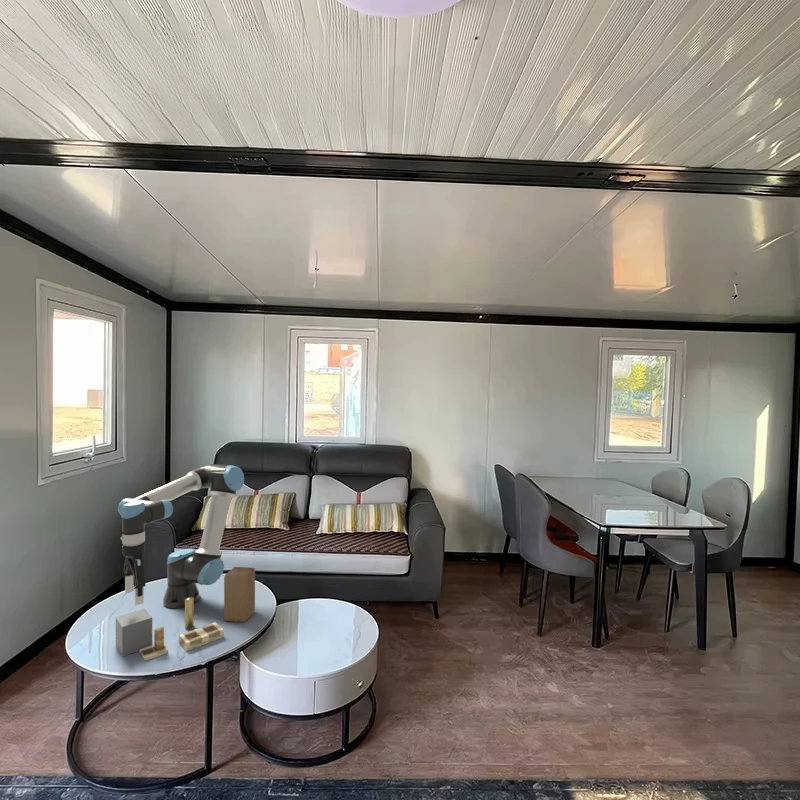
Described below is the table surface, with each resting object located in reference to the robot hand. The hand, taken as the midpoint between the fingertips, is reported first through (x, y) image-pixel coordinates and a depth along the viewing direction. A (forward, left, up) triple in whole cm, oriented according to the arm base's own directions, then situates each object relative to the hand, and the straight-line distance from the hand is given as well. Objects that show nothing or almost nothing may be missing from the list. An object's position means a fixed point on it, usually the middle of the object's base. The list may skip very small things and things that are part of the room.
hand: (134, 598), depth 170 cm
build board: (+14, +20, -18) cm, 31 cm away
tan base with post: (+10, +4, -18) cm, 21 cm away
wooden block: (+7, +39, -19) cm, 44 cm away
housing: (0, 0, -18) cm, 18 cm away
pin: (+1, +20, -18) cm, 27 cm away
